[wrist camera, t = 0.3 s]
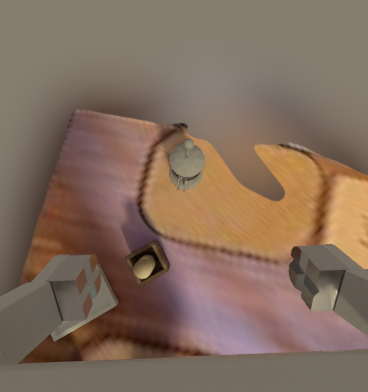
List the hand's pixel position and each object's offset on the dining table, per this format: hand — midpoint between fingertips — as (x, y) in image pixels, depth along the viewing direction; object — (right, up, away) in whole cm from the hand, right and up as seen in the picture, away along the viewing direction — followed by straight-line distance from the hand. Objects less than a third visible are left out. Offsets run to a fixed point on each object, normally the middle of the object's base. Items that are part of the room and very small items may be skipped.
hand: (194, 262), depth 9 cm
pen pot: (-10, -15, +51) cm, 54 cm away
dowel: (-10, -15, +50) cm, 53 cm away
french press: (0, +9, +54) cm, 55 cm away
